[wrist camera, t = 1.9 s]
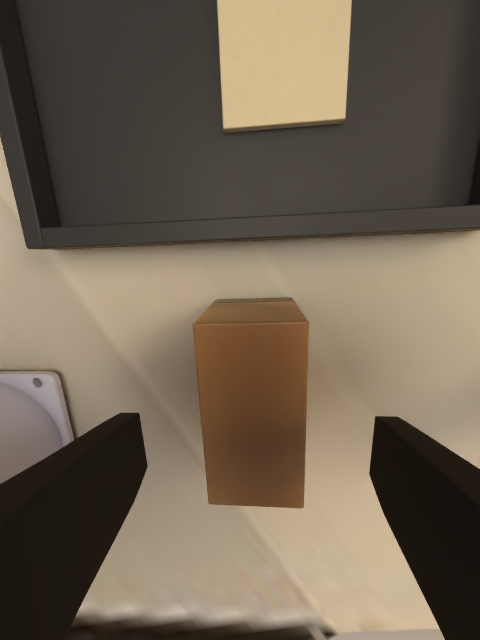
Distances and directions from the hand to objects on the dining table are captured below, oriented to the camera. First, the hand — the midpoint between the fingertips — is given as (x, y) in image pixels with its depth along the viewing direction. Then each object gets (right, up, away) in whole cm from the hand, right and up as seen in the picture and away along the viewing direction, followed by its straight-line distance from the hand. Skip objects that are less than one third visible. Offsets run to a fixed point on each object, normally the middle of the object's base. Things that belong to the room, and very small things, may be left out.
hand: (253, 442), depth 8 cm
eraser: (0, +1, +5) cm, 5 cm away
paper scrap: (+1, +13, +1) cm, 13 cm away
